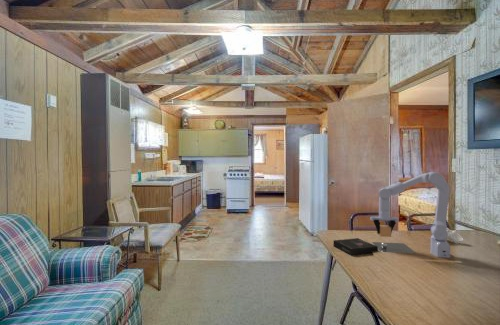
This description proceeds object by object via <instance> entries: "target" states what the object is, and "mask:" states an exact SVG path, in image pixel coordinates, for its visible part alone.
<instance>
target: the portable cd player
mask: <svg viewBox="0 0 500 325" xmlns="http://www.w3.org/2000/svg"><path fill="white" fill-rule="evenodd" d="M333 247H334V248H335V249H338V250H339V251H340V252H343V253H346V254H347V255H348V256H351V257H353V256H354V257H355V256H361V255H362V254H363V255H369V254H370V255H371V253H372V254H373V252H379V249H378V247H377V246H375V245H374V244H373V243H370V242H367V241H365V240H363V239H360V238H359V237H358V238H356V237H355V238H347V239H345V238H344V239H337V240H336V239H334V240H333Z"/></svg>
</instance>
